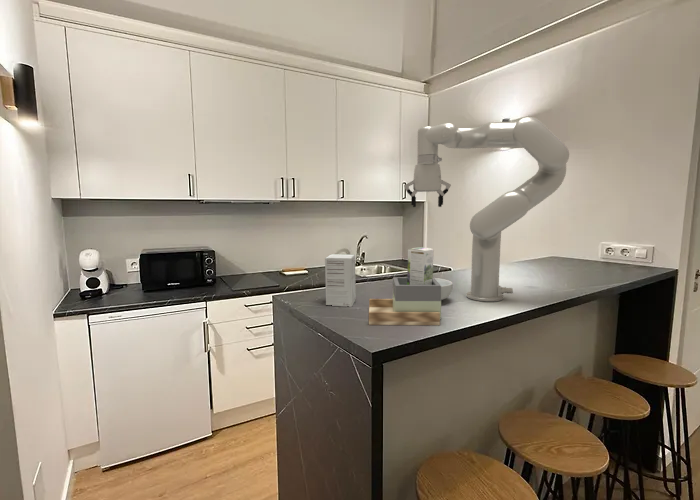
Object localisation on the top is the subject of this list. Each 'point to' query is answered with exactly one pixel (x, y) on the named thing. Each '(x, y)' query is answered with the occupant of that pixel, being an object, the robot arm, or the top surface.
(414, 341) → the top surface
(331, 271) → the supplement box
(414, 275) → the syrup box
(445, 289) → the cereal bowl
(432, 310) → the crate
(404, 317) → the bay
